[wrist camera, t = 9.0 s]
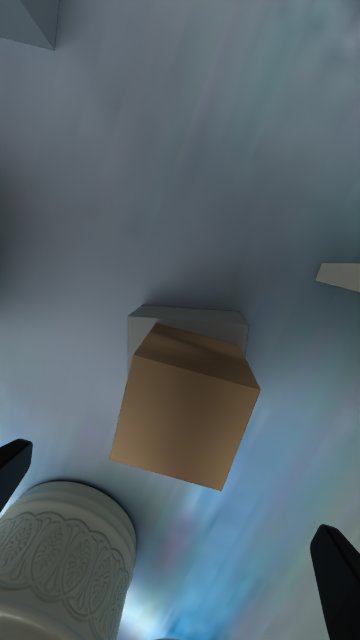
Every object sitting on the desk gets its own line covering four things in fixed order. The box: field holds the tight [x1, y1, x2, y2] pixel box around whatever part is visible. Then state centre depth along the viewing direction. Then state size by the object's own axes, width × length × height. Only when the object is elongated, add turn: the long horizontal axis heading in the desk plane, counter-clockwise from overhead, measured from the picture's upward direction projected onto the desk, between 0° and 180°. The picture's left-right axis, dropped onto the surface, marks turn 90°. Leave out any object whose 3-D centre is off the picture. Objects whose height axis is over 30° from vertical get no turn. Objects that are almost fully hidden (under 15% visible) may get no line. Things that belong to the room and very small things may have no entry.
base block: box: [128, 305, 249, 375], centre depth 17 cm, size 7×7×4 cm
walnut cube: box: [109, 323, 260, 491], centre depth 12 cm, size 5×5×5 cm
